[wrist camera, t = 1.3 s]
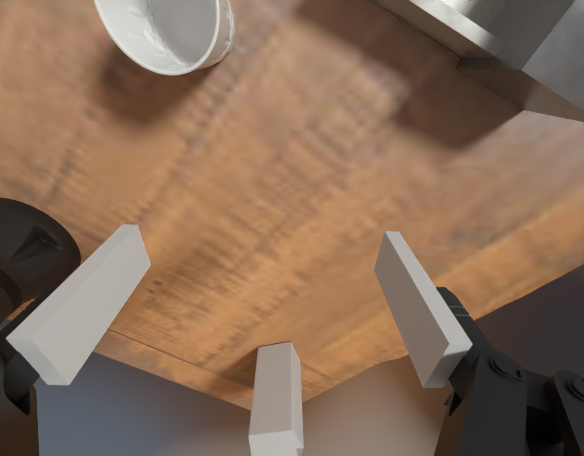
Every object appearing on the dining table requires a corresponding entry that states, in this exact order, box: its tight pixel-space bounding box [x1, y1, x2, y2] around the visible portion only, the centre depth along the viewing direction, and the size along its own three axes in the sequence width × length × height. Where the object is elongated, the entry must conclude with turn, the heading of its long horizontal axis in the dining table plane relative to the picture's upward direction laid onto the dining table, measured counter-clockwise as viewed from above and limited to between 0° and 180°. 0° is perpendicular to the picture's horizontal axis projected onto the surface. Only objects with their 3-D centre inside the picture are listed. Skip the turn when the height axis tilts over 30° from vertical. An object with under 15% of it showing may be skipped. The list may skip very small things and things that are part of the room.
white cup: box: [93, 0, 236, 76], centre depth 21 cm, size 8×8×10 cm
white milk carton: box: [248, 342, 303, 456], centre depth 46 cm, size 7×7×19 cm
